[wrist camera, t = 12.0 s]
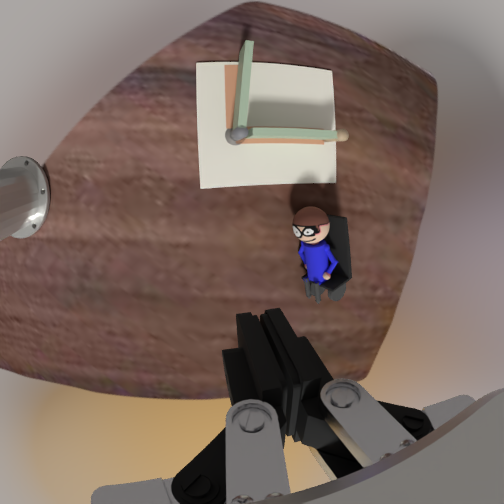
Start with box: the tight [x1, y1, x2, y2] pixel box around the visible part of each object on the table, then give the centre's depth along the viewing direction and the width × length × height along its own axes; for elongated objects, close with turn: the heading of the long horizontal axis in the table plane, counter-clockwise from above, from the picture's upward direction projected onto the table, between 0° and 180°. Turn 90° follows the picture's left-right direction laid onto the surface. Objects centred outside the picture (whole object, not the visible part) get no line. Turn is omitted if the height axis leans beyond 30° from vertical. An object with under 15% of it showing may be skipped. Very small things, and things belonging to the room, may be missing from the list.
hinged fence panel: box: [230, 40, 254, 141], centre depth 30 cm, size 13×2×4 cm, turn 176°
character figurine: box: [293, 207, 352, 304], centre depth 39 cm, size 8×7×15 cm
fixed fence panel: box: [245, 128, 349, 142], centre depth 33 cm, size 13×2×5 cm, turn 92°
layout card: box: [196, 62, 336, 189], centre depth 35 cm, size 20×18×1 cm
